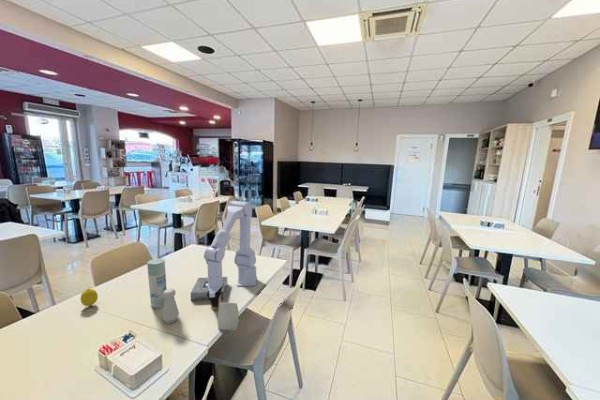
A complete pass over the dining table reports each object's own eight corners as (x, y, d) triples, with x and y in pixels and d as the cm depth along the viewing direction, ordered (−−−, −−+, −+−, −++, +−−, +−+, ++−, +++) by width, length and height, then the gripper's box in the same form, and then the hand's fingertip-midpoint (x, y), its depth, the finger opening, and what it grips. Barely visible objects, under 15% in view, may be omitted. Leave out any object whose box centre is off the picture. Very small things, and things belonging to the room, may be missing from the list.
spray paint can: (160, 309, 107) (156, 265, 103) (147, 307, 108) (143, 263, 105) (170, 300, 113) (168, 259, 110) (158, 298, 114) (155, 257, 111)
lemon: (101, 304, 109) (99, 287, 108) (86, 311, 104) (83, 293, 103) (94, 301, 111) (92, 284, 110) (79, 307, 106) (76, 290, 105)
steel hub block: (227, 284, 129) (227, 276, 128) (223, 299, 115) (222, 291, 115) (198, 285, 127) (198, 277, 126) (191, 301, 113) (190, 292, 113)
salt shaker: (182, 317, 102) (180, 288, 100) (171, 326, 97) (169, 295, 94) (171, 314, 104) (169, 285, 102) (159, 322, 98) (157, 292, 96)
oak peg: (221, 304, 112) (221, 290, 110) (220, 310, 108) (219, 295, 106) (212, 305, 111) (211, 290, 110) (210, 310, 107) (209, 295, 106)
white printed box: (235, 330, 96) (235, 306, 94) (218, 329, 96) (217, 305, 94) (238, 324, 99) (238, 300, 98) (221, 323, 100) (221, 300, 98)
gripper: (208, 267, 113) (209, 294, 115) (200, 283, 99) (202, 314, 101) (225, 266, 114) (225, 294, 116) (219, 282, 100) (220, 313, 102)
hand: (216, 303), depth 109 cm, fingers closed on oak peg, 4 cm apart
